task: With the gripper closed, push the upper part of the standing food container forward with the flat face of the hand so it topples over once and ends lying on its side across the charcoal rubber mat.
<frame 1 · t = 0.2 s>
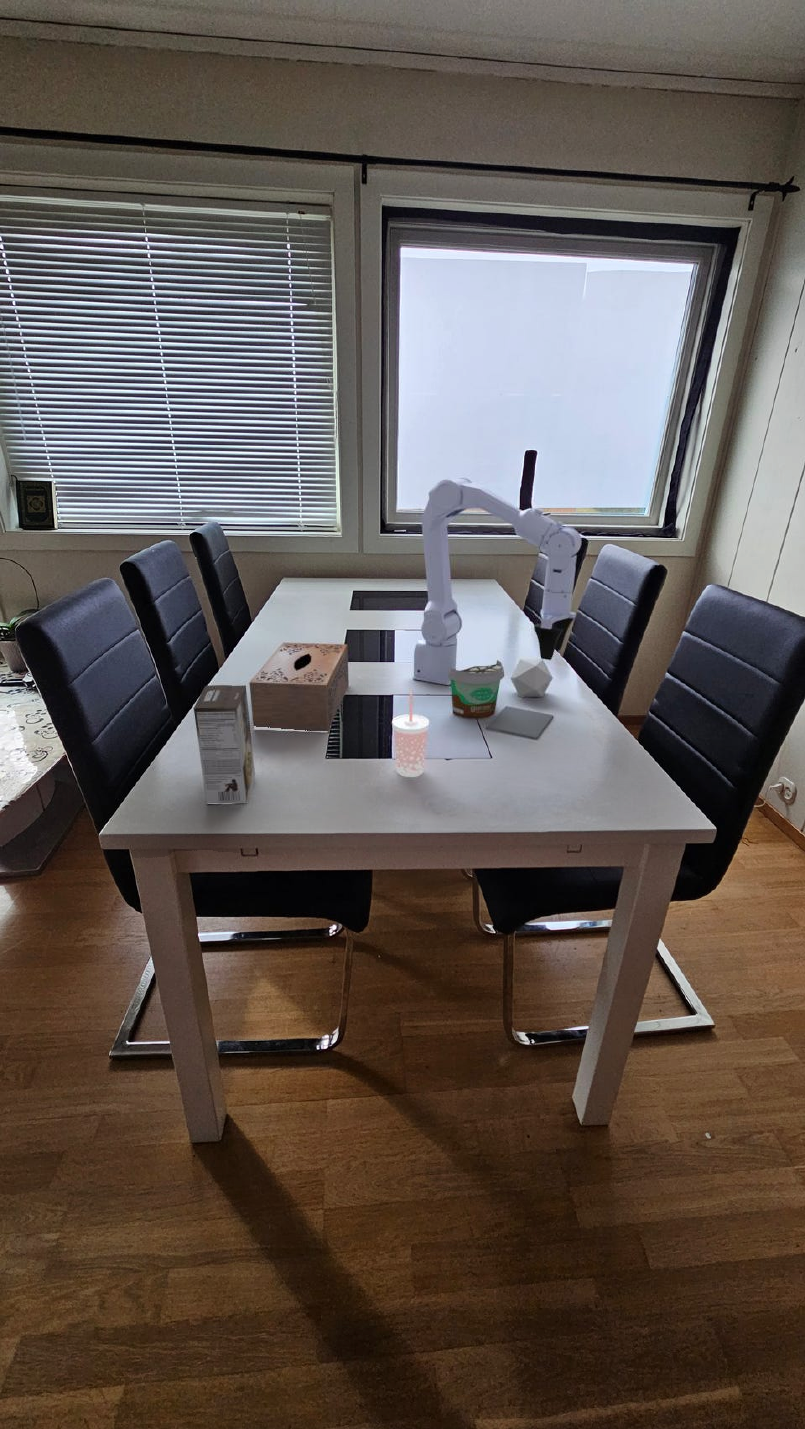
hand: (550, 654, 131), 10 cm above the table, tool pointing down, fingers open, 7 cm apart
coffee box: (231, 791, 98), on the table
food container: (479, 715, 126), on the table
die: (529, 695, 137), on the table
tissue box cover: (305, 707, 130), on the table
mat: (520, 722, 122), on the table
beverage cup: (410, 771, 104), on the table
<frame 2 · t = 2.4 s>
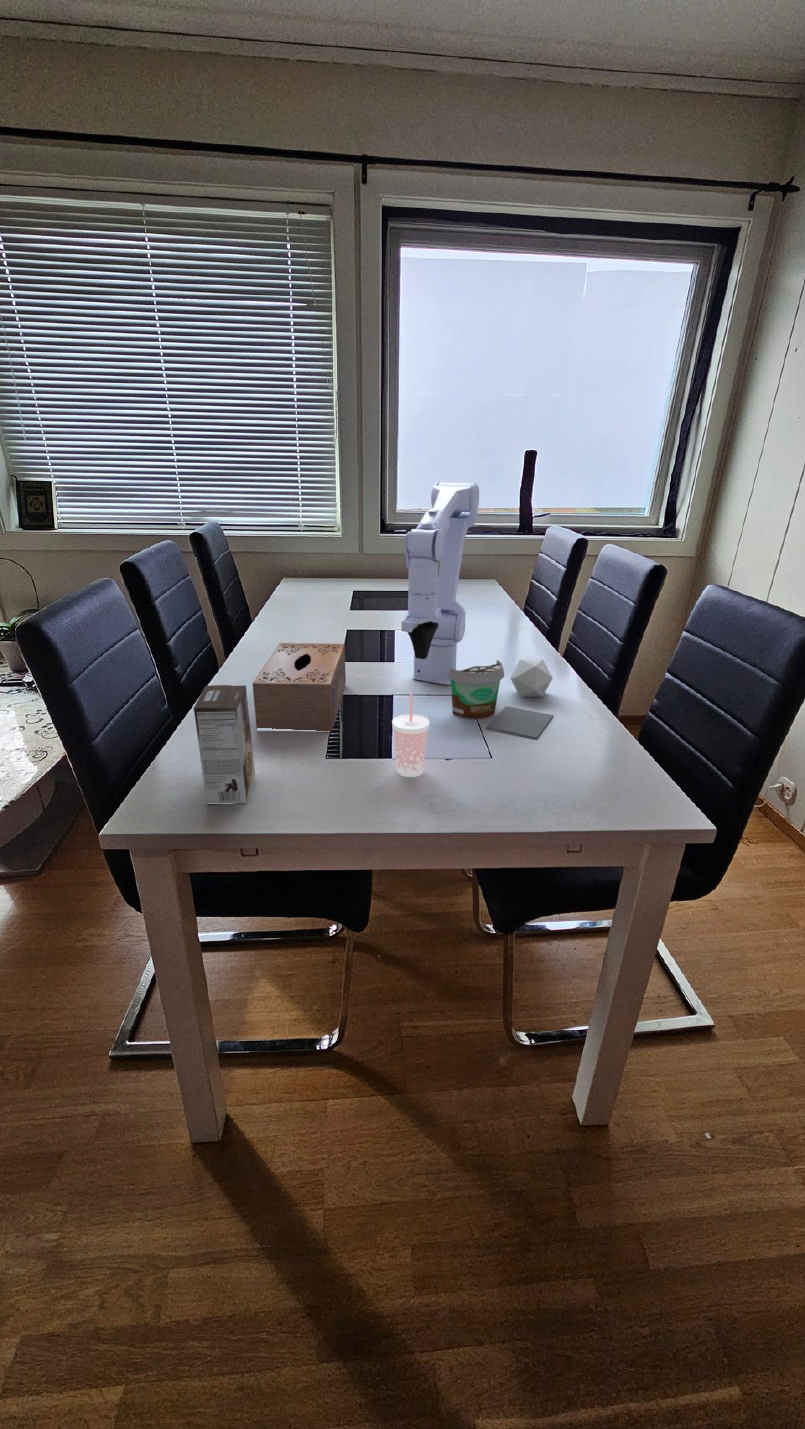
hand: (421, 657, 128), 10 cm above the table, tool pointing down, fingers closed
nothing on the table moved.
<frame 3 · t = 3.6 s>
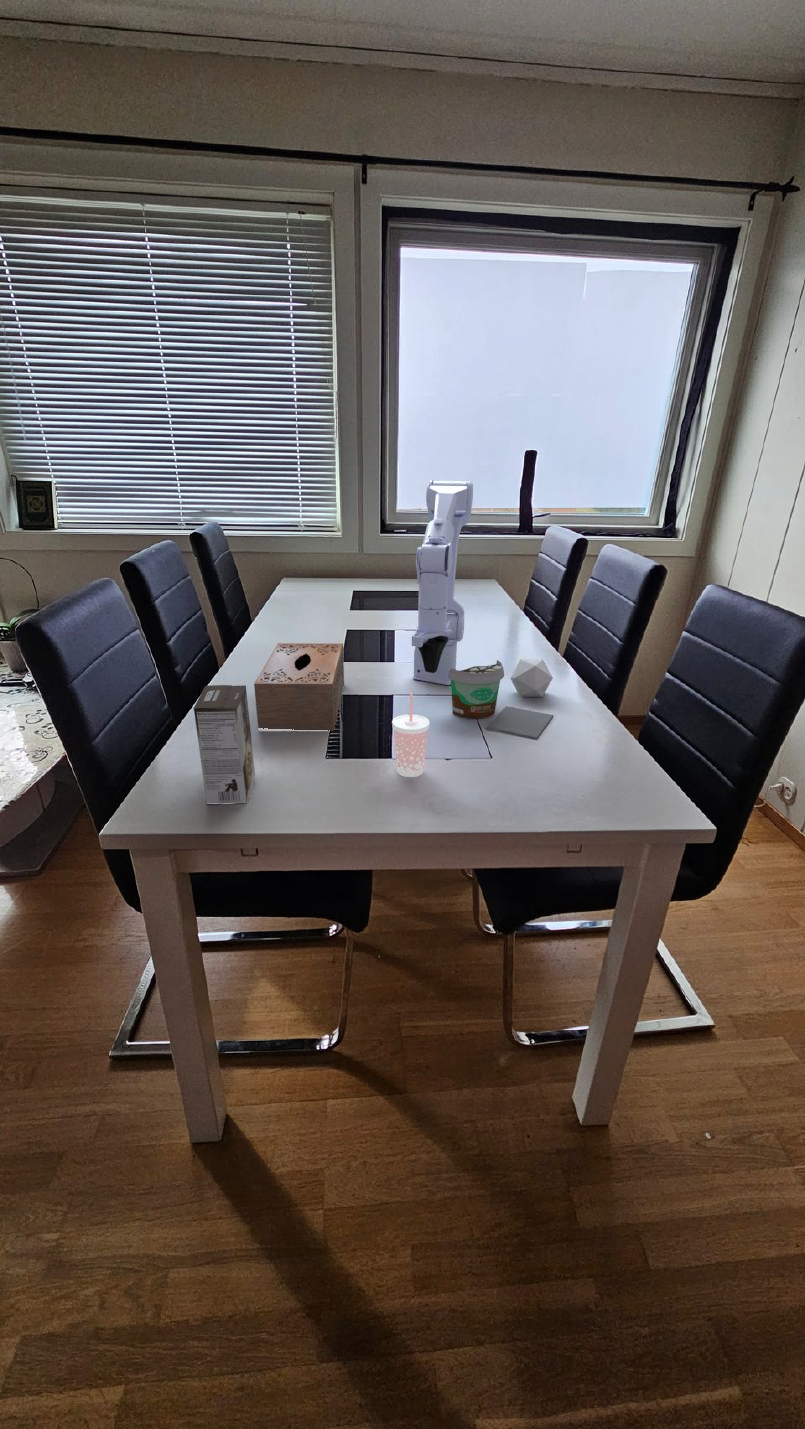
hand: (430, 671, 128), 7 cm above the table, tool pointing down, fingers closed
nothing on the table moved.
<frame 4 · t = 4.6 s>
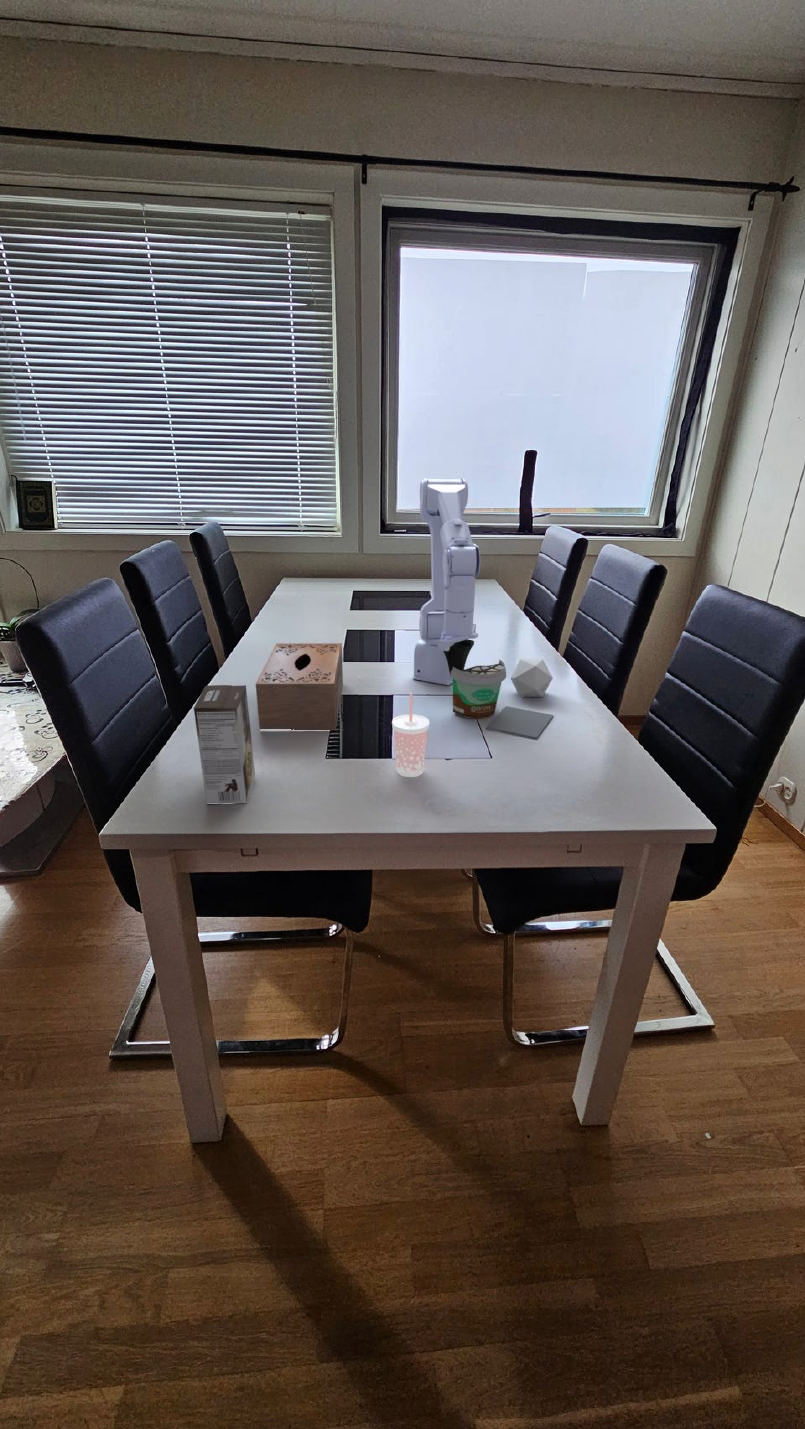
hand: (456, 675, 125), 7 cm above the table, tool pointing down, fingers closed
nothing on the table moved.
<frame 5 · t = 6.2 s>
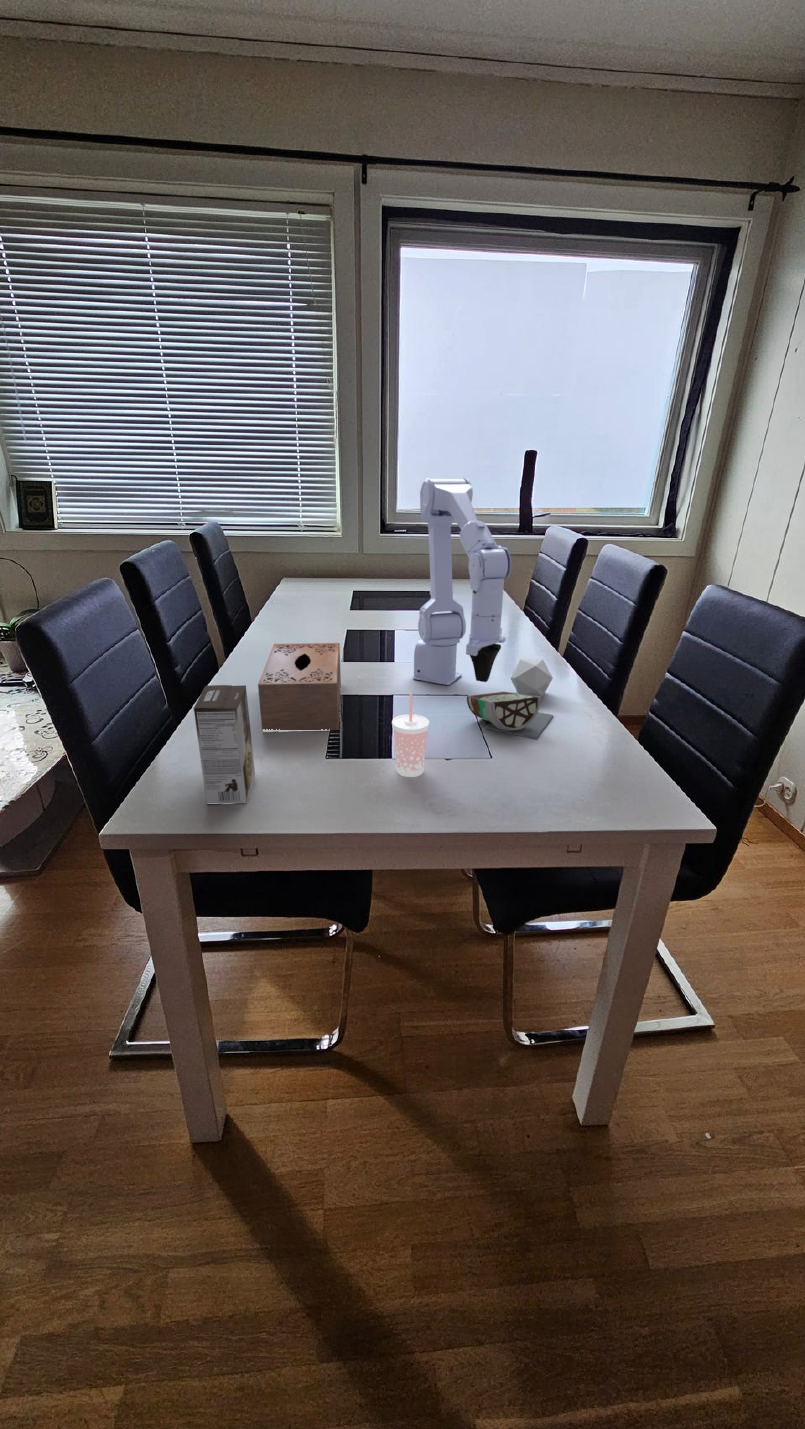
hand: (482, 680, 123), 7 cm above the table, tool pointing down, fingers closed
food container: (484, 708, 124), point 2 cm above the table, touching mat
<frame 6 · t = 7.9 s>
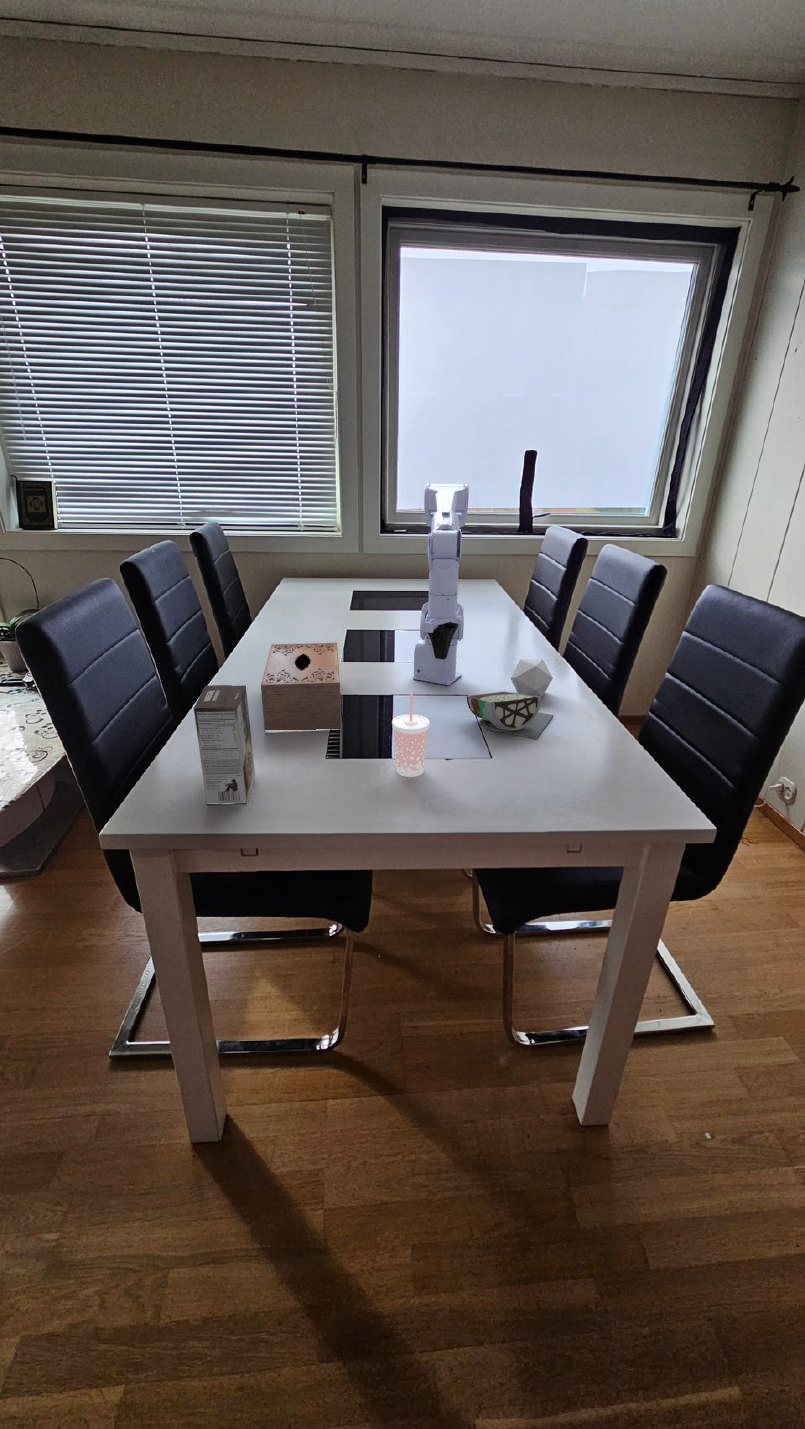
hand: (440, 658, 128), 10 cm above the table, tool pointing down, fingers closed
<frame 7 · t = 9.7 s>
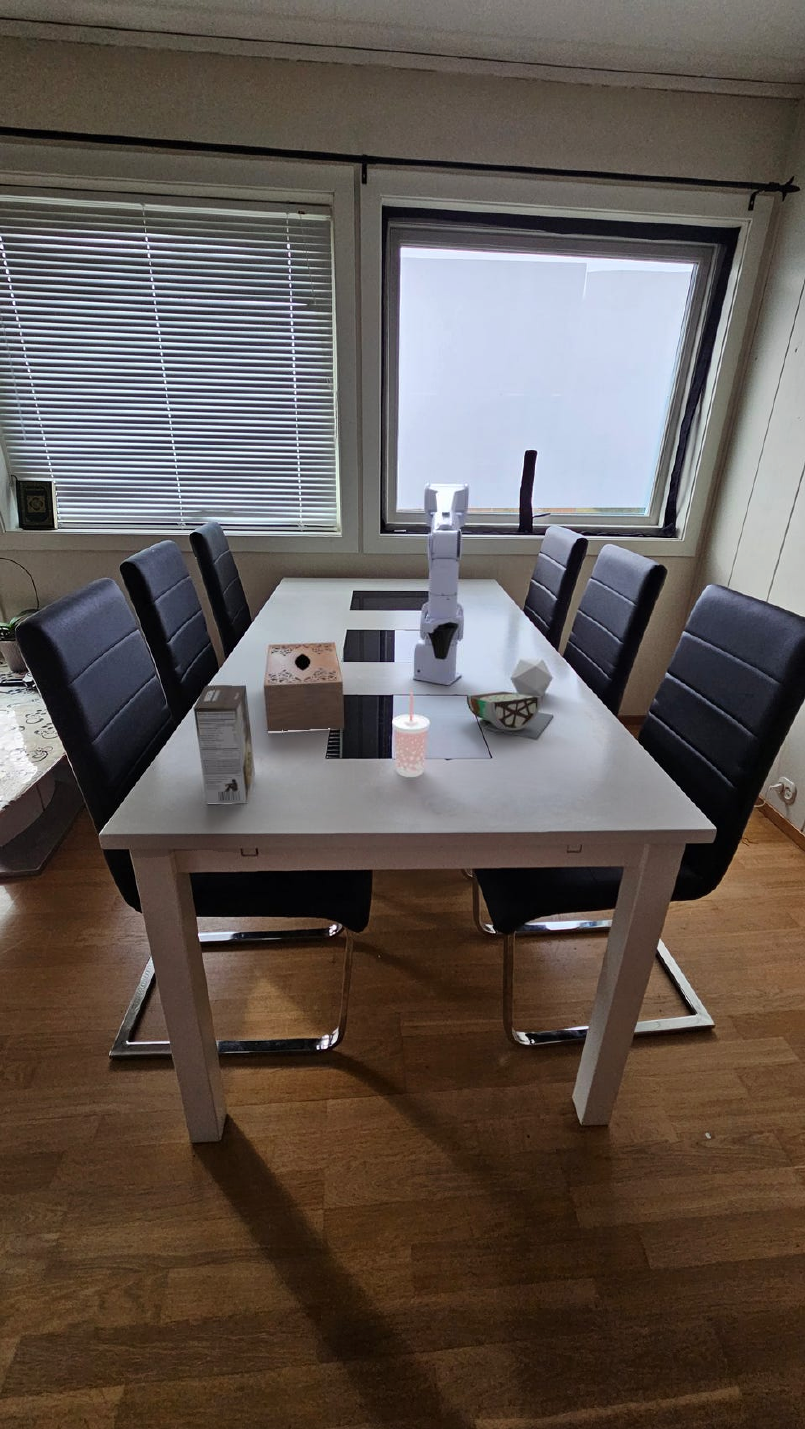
hand: (440, 658, 128), 10 cm above the table, tool pointing down, fingers closed
at the end: food container tilted 78°; food container inside the target area (3.4 cm from its centre), point 1.8 cm above the table; food container touching mat, table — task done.
